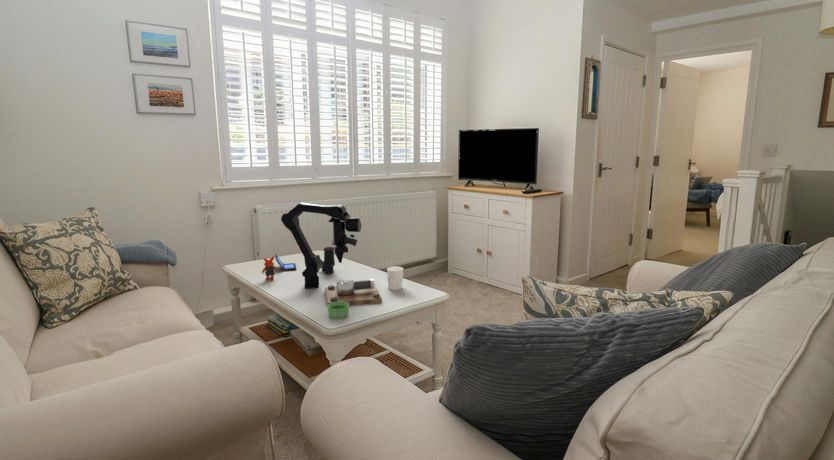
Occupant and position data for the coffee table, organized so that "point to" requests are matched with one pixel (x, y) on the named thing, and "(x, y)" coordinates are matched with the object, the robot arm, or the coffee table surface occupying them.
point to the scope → (328, 260)
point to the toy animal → (269, 268)
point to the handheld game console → (286, 265)
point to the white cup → (395, 277)
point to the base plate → (353, 296)
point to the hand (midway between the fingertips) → (340, 262)
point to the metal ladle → (353, 286)
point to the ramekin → (338, 310)
